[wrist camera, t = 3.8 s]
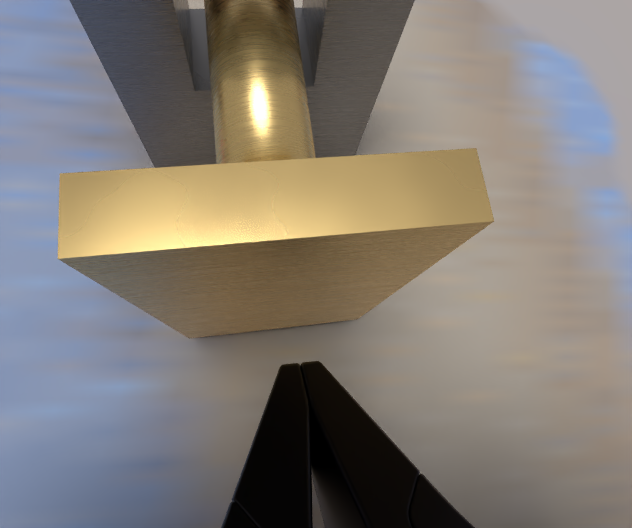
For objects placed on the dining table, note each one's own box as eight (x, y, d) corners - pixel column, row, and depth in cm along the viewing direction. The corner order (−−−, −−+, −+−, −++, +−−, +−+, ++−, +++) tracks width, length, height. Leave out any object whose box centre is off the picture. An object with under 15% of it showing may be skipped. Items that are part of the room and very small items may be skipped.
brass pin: (357, 319, 16) (493, 221, 6) (189, 338, 15) (57, 258, 6) (321, 85, 18) (382, -236, 9) (176, 91, 18) (69, -258, 8)
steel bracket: (351, 163, 19) (519, -272, 6) (159, 175, 18) (-95, -323, 5) (341, 103, 20) (474, -392, 7) (156, 111, 18) (-71, -459, 6)
